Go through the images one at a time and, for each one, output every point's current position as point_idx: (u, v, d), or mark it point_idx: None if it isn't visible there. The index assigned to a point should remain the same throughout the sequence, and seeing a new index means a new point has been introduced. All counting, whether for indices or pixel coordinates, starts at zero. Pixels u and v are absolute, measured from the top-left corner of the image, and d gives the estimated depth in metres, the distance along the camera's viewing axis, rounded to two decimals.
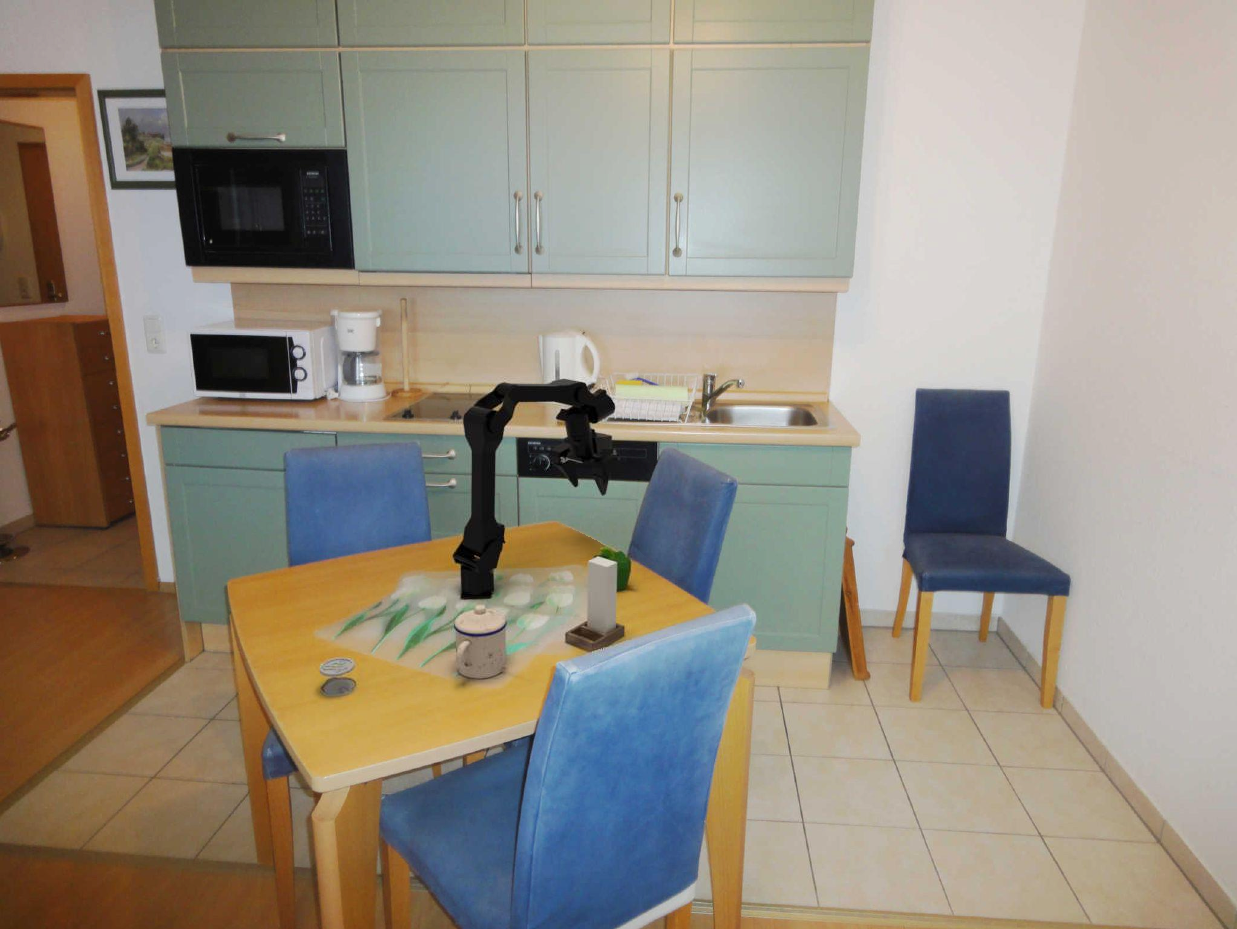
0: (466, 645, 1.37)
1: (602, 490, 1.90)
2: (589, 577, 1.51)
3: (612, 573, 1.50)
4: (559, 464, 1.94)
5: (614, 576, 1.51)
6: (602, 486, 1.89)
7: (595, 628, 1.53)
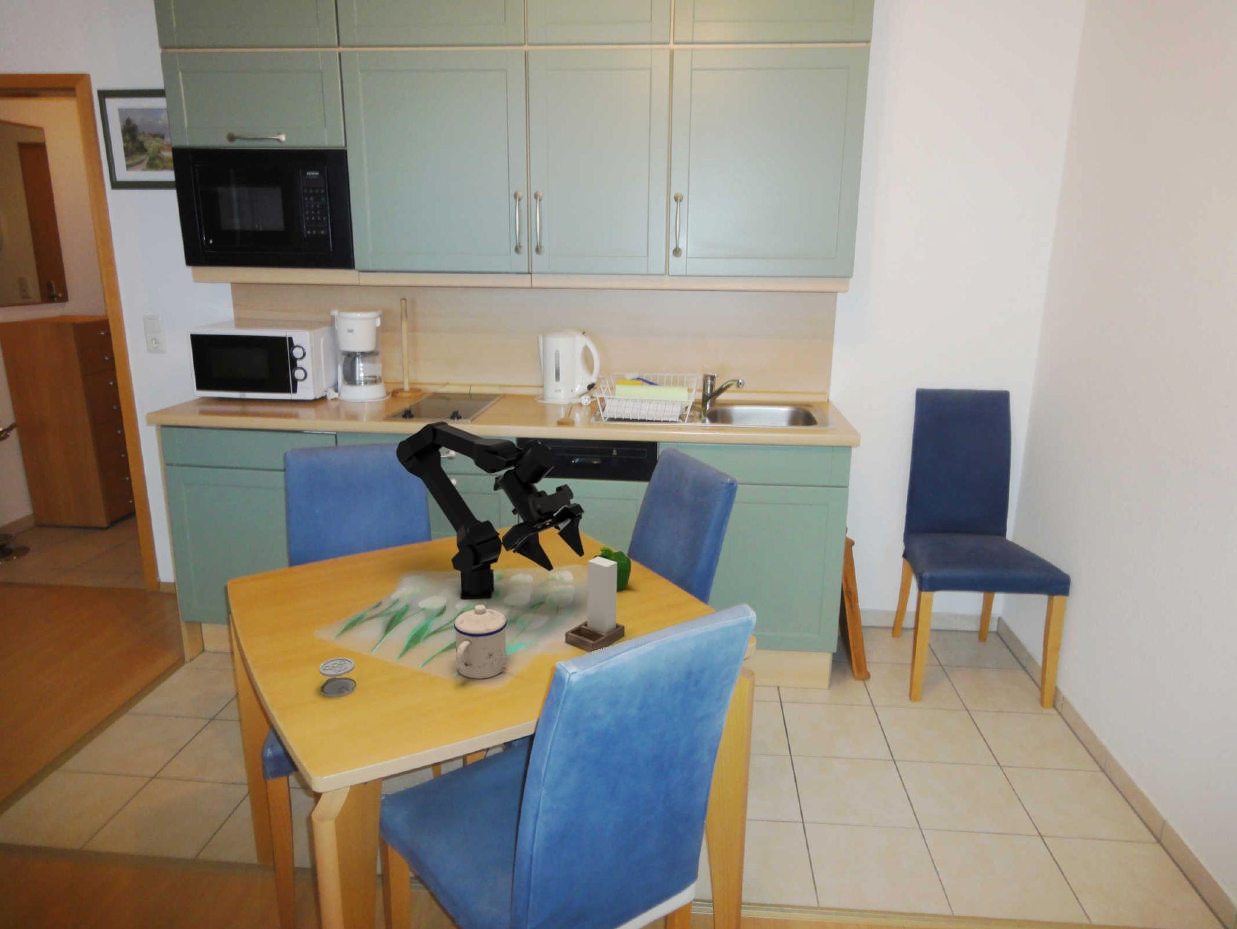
0: (466, 645, 1.37)
1: (541, 565, 1.53)
2: (589, 577, 1.51)
3: (612, 573, 1.50)
4: None
5: (614, 576, 1.51)
6: (535, 560, 1.53)
7: (595, 628, 1.53)
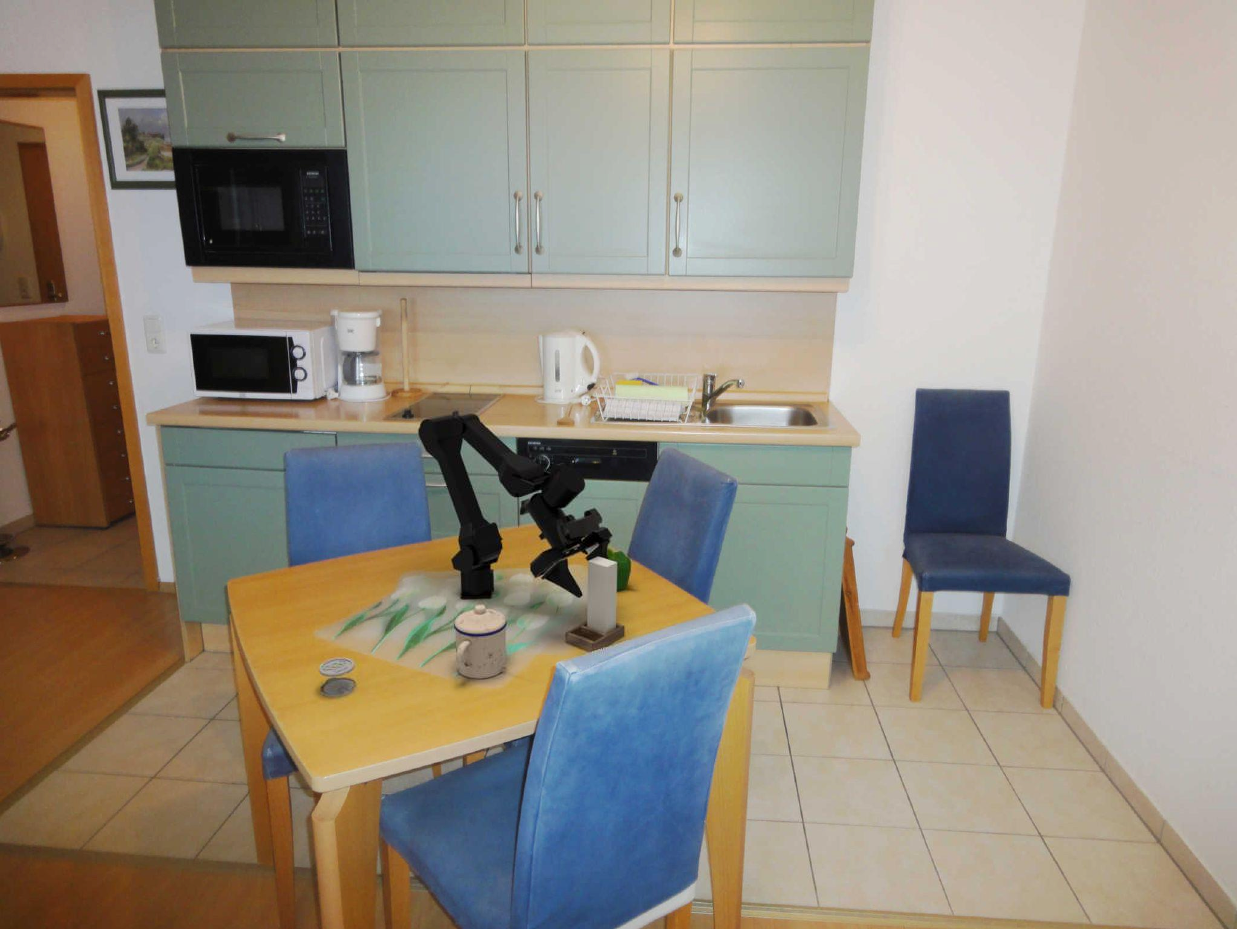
0: (466, 645, 1.37)
1: (570, 591, 1.50)
2: (589, 577, 1.51)
3: (612, 573, 1.50)
4: None
5: (614, 576, 1.51)
6: (565, 586, 1.50)
7: (595, 628, 1.53)
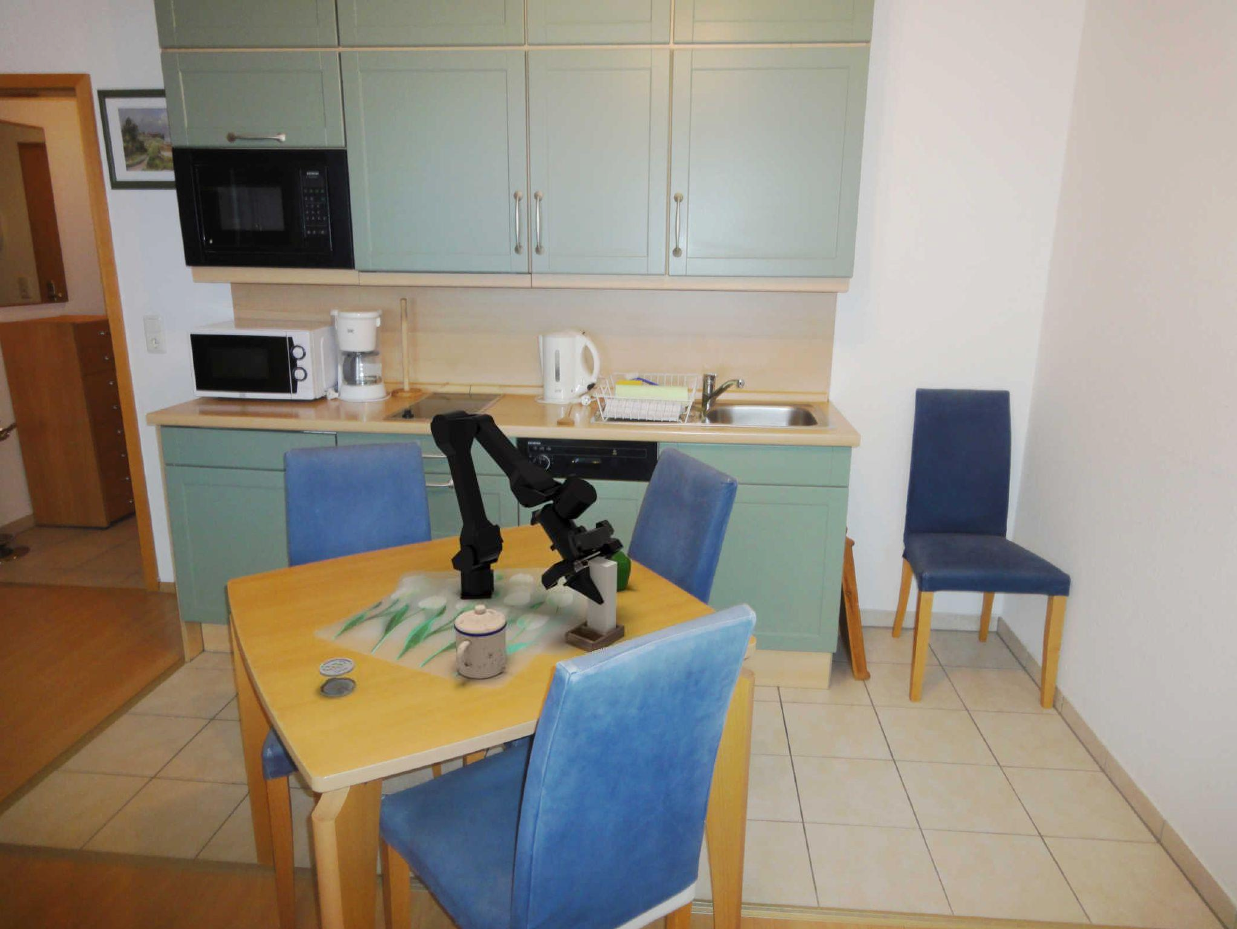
0: (466, 645, 1.37)
1: (592, 599, 1.51)
2: None
3: (612, 573, 1.50)
4: None
5: (614, 576, 1.51)
6: (586, 594, 1.51)
7: (595, 628, 1.53)
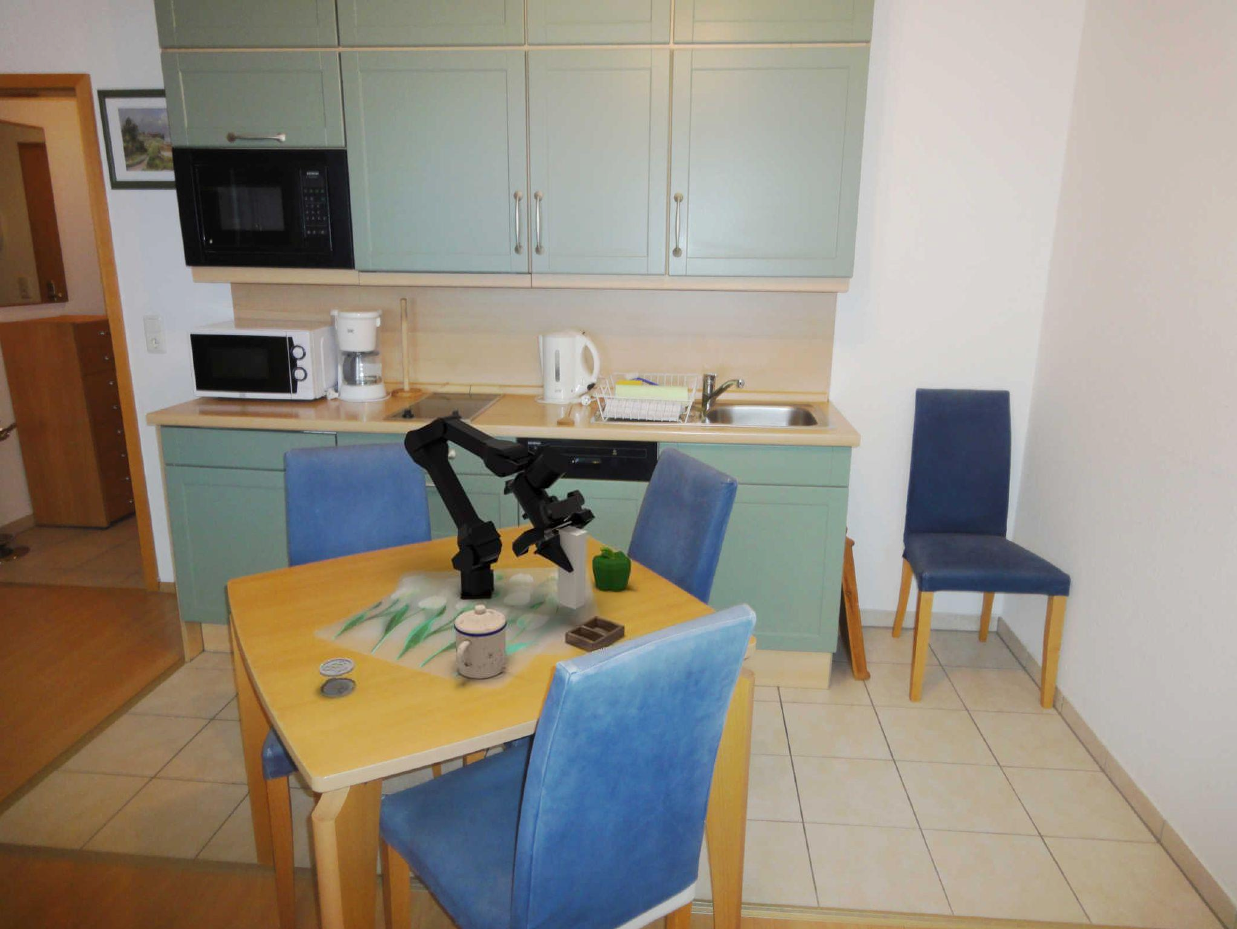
0: (466, 645, 1.37)
1: (562, 567, 1.54)
2: None
3: (582, 542, 1.53)
4: None
5: (584, 545, 1.54)
6: (556, 562, 1.54)
7: (565, 596, 1.56)
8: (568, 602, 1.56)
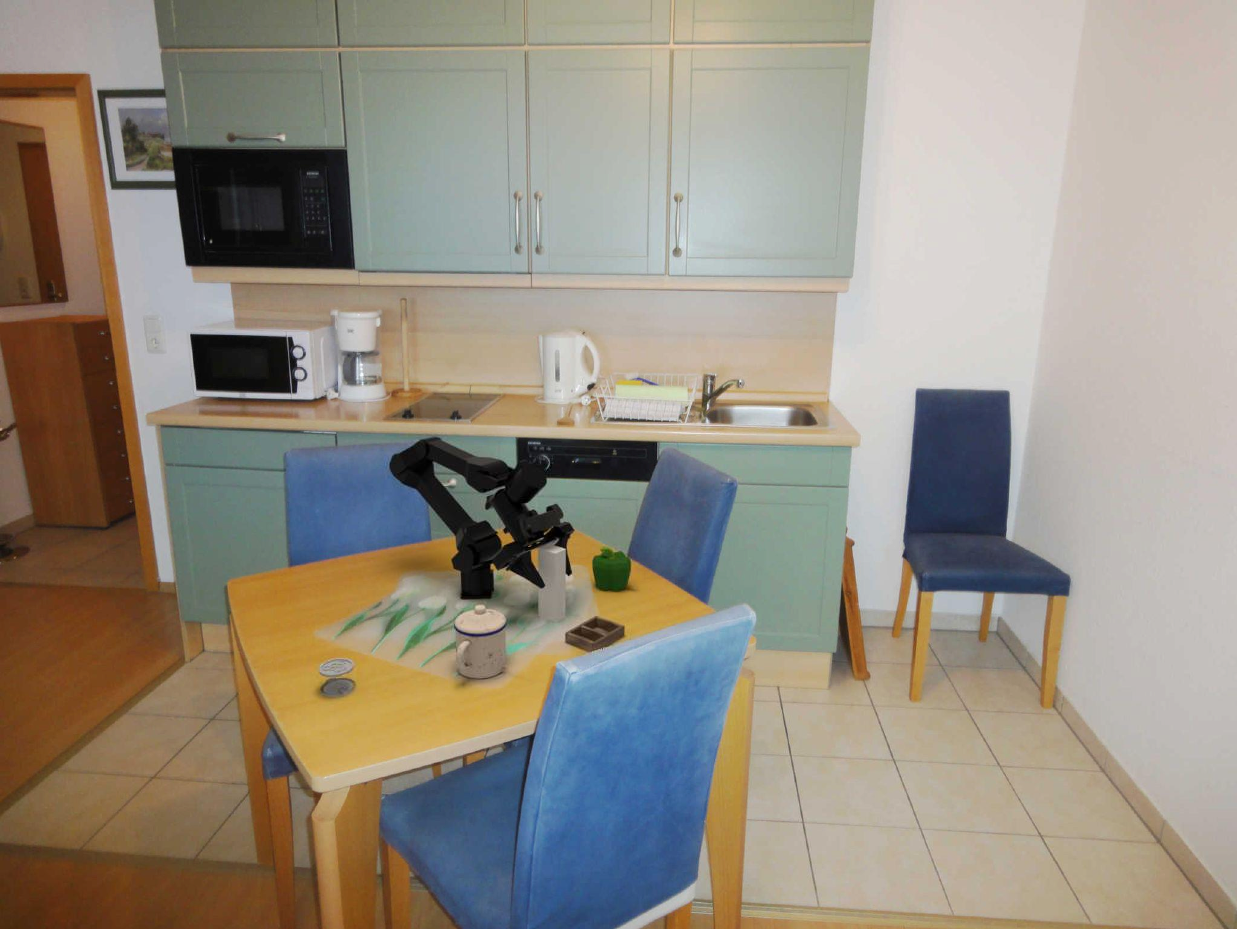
0: (466, 645, 1.37)
1: (534, 583, 1.56)
2: (539, 563, 1.59)
3: (561, 559, 1.57)
4: None
5: (563, 562, 1.58)
6: (528, 578, 1.56)
7: (545, 612, 1.60)
8: (549, 618, 1.60)
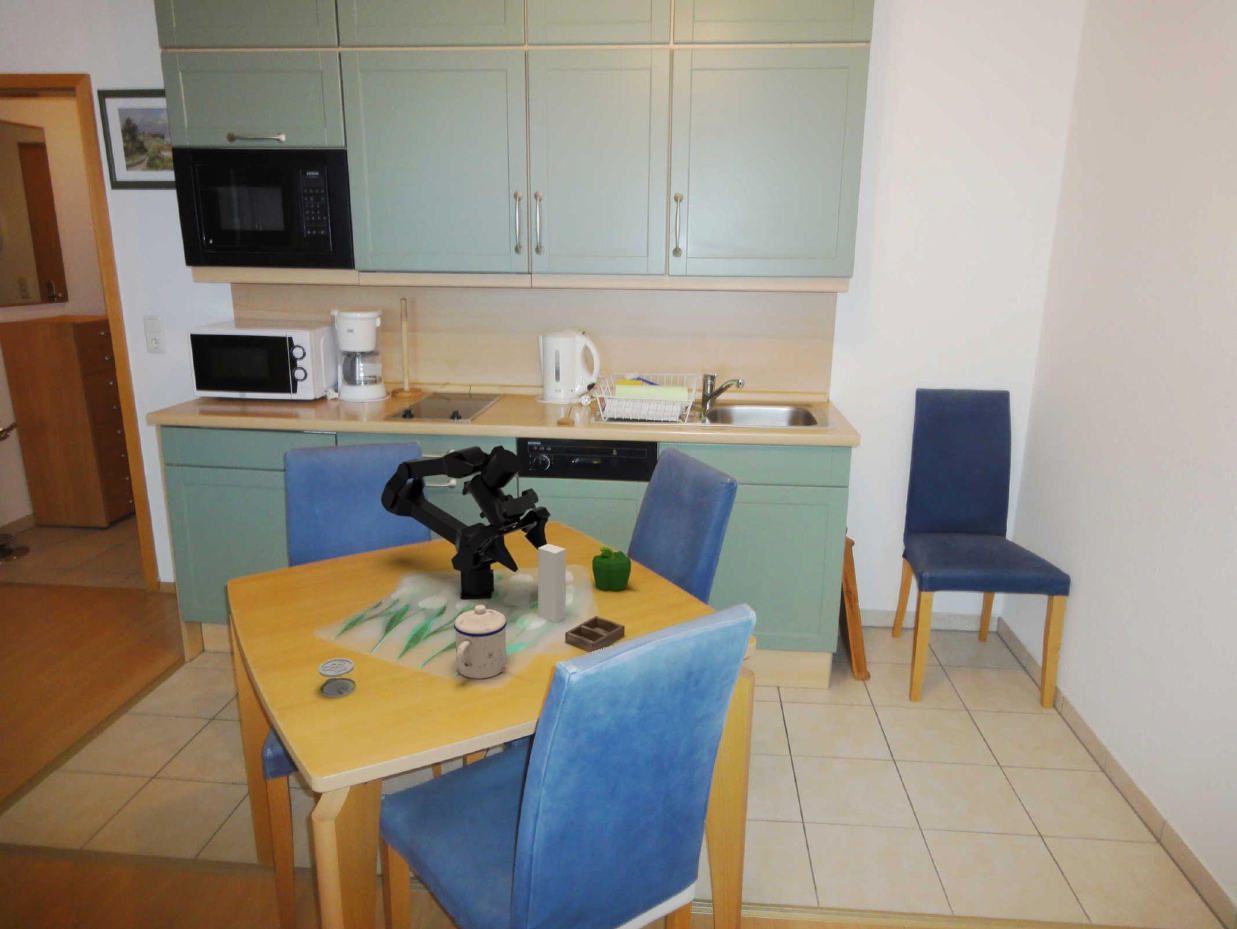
0: (466, 645, 1.37)
1: (507, 566, 1.59)
2: (539, 563, 1.59)
3: (561, 559, 1.57)
4: None
5: (563, 562, 1.58)
6: (501, 561, 1.59)
7: (545, 612, 1.60)
8: (549, 618, 1.60)
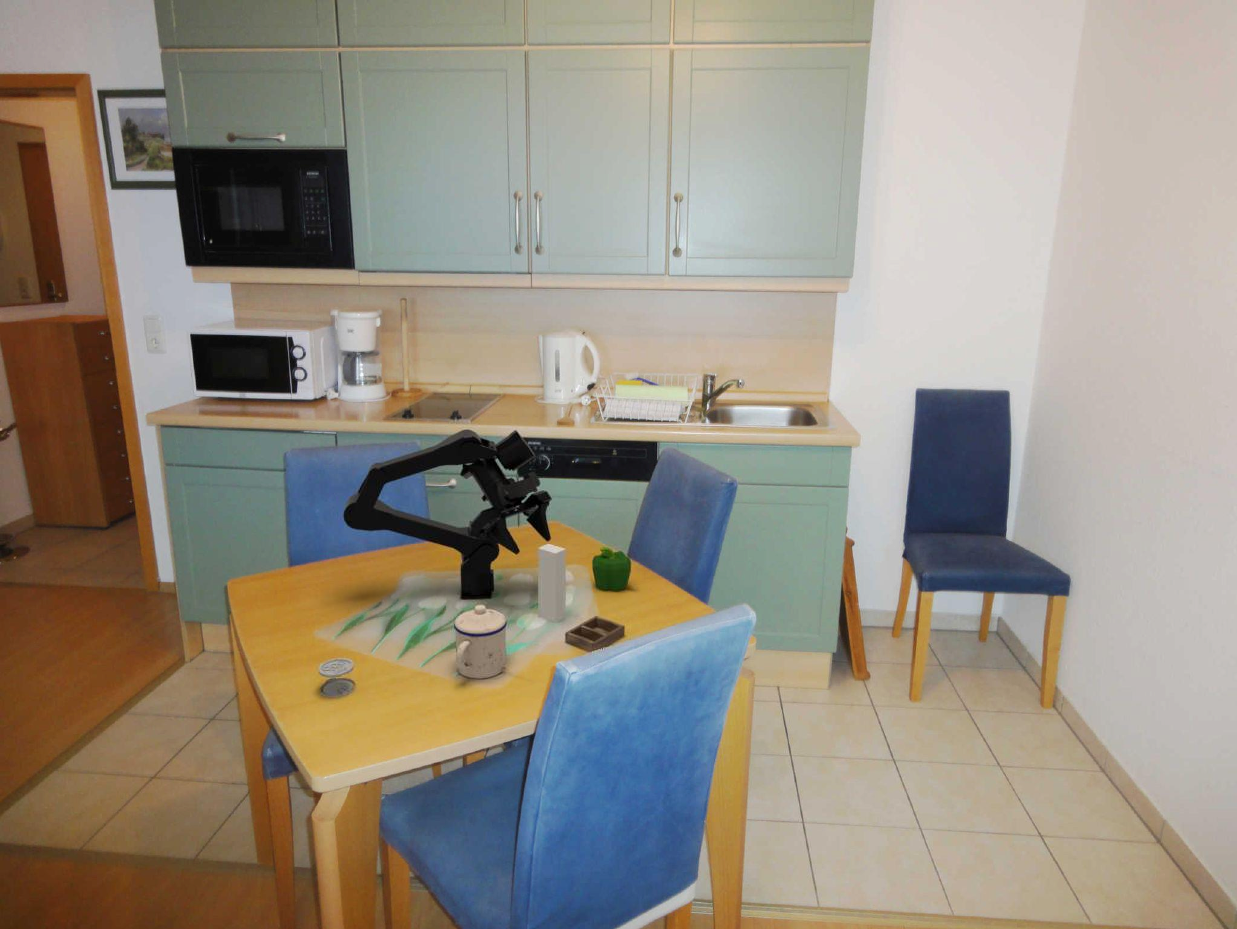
0: (466, 645, 1.37)
1: (508, 548, 1.61)
2: (539, 563, 1.59)
3: (561, 559, 1.57)
4: None
5: (563, 562, 1.58)
6: (503, 544, 1.61)
7: (545, 612, 1.60)
8: (549, 618, 1.60)
